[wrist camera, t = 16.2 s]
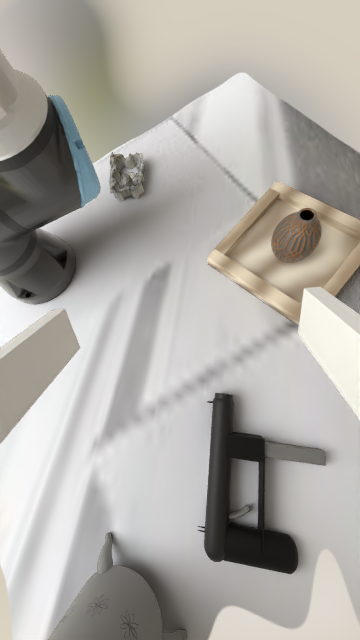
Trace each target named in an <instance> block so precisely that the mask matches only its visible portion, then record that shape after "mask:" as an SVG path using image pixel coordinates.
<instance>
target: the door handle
mask: <svg viewBox="0 0 360 640" xmlns="http://www.w3.org/2000/svg"><path fill="white" fill-rule="evenodd" d="M207 402H208V401H207ZM209 403H213V412H212V427H211V443H210V459H209V475H208V491H207V506H206V522H205V527H202V528H205V531H202V530H198V531H202V532H205V538H204V547H205V551H206V554H207V556H208V557H209V558H210V559H211V560H212V561H215V562H220V561H222V560H224V561H229V562H234V563H239V564H244V565H249V566H253V567H258V568H263V569H268V570H273V571H278V572H283V573H287V574H292V573H294V572H295V570H296V568H297V565H298V552H297V548H296V545H295V543H294V541H293V539H292V538H291V537H290V536H289V535H287V534H283V533H277V532H272V531H266V530H264V478H265V457H270V458H276V459H283V460H290V461H297V462H304V463H311V464H318V465H324V466H326V463H325V452H324V451H323V450H321V449H316V448H309V447H302V446H296V445H289V444H282V443H275V442H268V441H265V439H264V438H262V437H261V436H259V435H252V434H245V433H238V432H232V428H233V400H232V395H229V394H224V393H215V398H214V400H213V401H210V402H209ZM231 458H236V459H243V460H249V461H256V462H259V488H258V529H256V528H250V527H245V526H239V525H234V524H229V519H234V518H238V517H241V516H243V515H245V514H246V513H248V512H249V511H250V509H249V508H248V506H247V505H246V506H245V507H243V508H242V509H240V510H238V511H236V512H233V513H229V504H230V479H231ZM198 527H201V526H198Z"/></svg>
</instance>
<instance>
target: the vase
mask: <svg viewBox="0 0 360 640" xmlns="http://www.w3.org/2000/svg"><path fill="white" fill-rule="evenodd" d="M321 234H322V227H321V224H320V221H319V220H318V218H317V214H316V212H315V210H313V209H311V208H303V209H301V210H300V211H298V212H295V213H292V214H290V215H288V216H286V217H285V218H284V219H282V220H281V221H280V222H279V224H278V225H277V226H276V228H275V230H274V232H273V235H272V239H271V247H272V251H273V253H274V255H275V256H276V257H277V258H278V259H280V260H281V261H284V262H288V263H294V262H298V261H301V260H303V259H305V258H307V257H308V256H309V255H310V254H311V253H312V252H313V251H314V250H315V249H316V247H317V246H318V244H319V242H320V239H321Z"/></svg>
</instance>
